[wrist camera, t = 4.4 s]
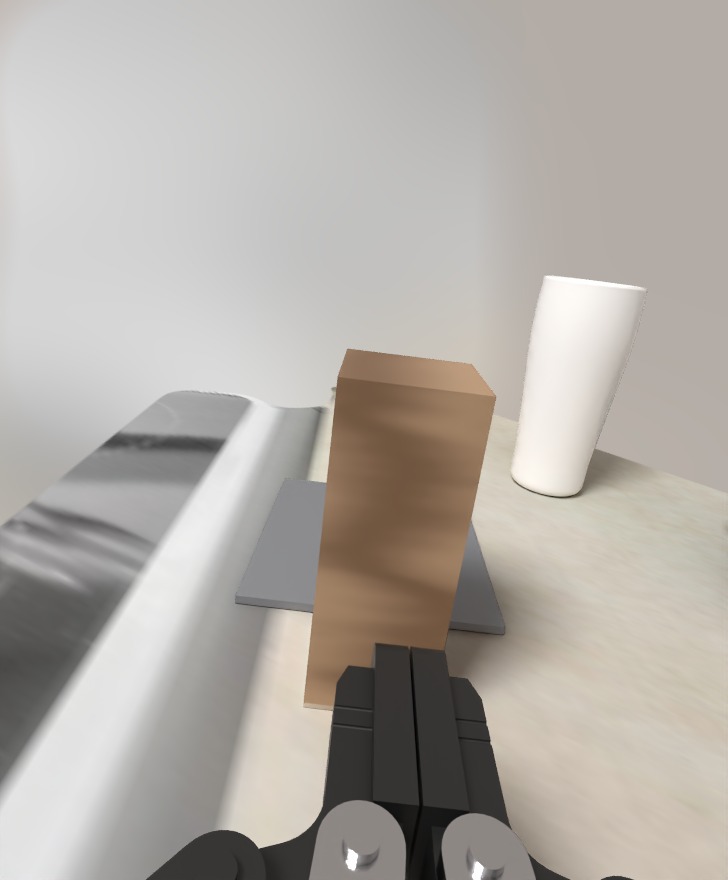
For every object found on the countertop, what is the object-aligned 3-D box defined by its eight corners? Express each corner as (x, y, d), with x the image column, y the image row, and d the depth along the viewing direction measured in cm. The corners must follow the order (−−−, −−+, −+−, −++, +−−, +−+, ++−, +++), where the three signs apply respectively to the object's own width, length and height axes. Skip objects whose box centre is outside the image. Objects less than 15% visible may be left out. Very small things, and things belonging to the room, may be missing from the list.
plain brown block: (420, 636, 24) (472, 364, 20) (429, 721, 20) (496, 396, 16) (317, 624, 24) (347, 348, 20) (303, 707, 19) (337, 377, 15)
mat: (463, 505, 37) (464, 499, 37) (503, 634, 24) (505, 627, 24) (284, 483, 37) (284, 477, 37) (235, 602, 24) (235, 595, 24)
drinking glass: (494, 461, 45) (534, 273, 40) (577, 474, 45) (629, 285, 40) (505, 495, 39) (554, 277, 34) (602, 510, 39) (666, 291, 34)
